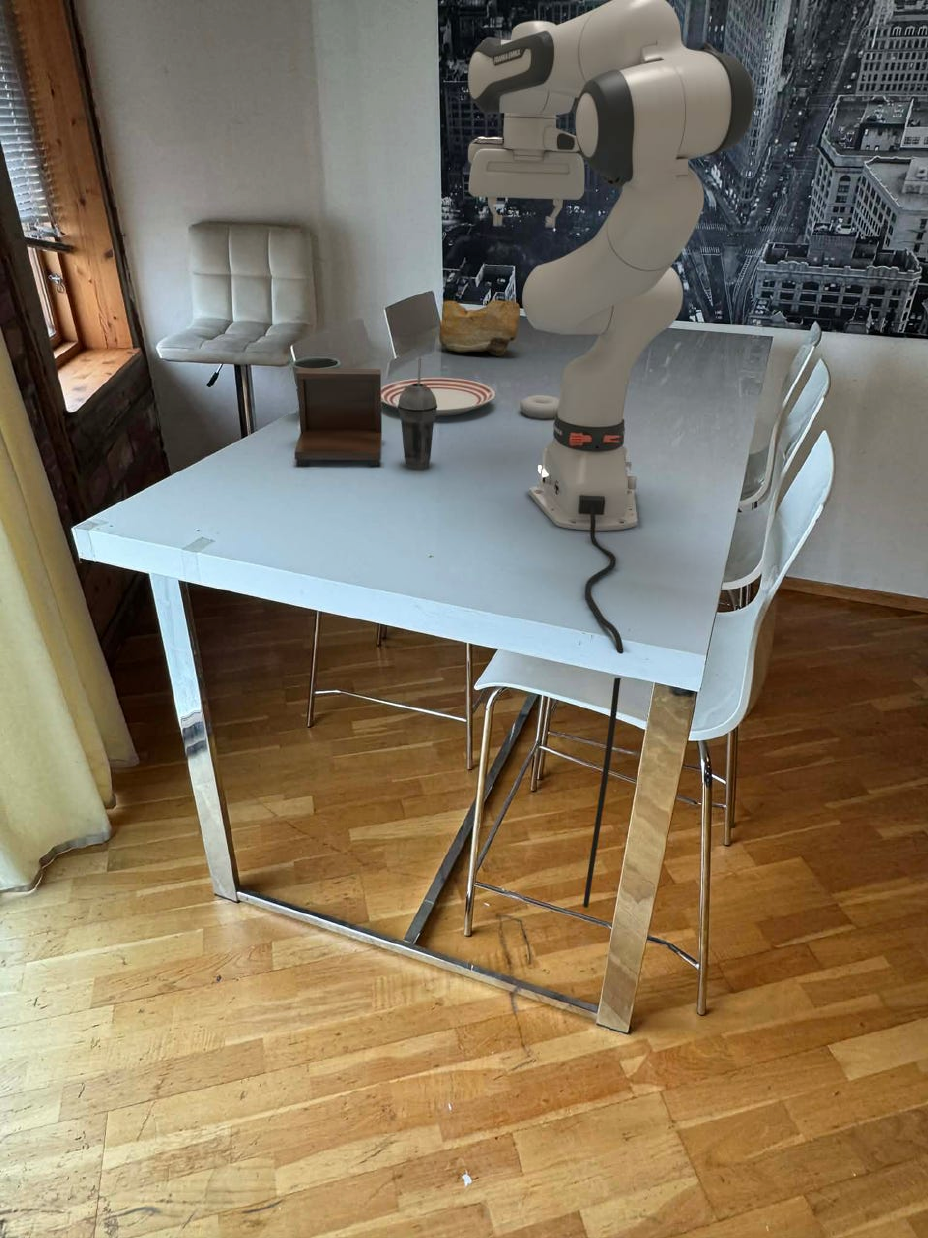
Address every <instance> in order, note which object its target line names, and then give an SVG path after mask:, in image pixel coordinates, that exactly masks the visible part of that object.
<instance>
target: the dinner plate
mask: <svg viewBox="0 0 928 1238" xmlns="http://www.w3.org/2000/svg"><path fill="white" fill-rule="evenodd" d="M414 383H418V378H412V379H404V380H399V381H394V382H391V383H388V384H385V385H384V386H381V403H383V404H385V405H387V406H390V407H392V408H394V409H396V410H399V408H398V404H399V398H400V395H401V393H402V392H403V390H404V389H405V388H406V387H407V386H409V385H411V384H414ZM420 384H424V385H426V386H427V387H429V388H430V389H431V390H432V392H433V394H434V395H435V398H436V404H437V408H436V415H435V417H449V416H457V415H461V414H464V413H468V412H469V411H474V410H476V409H478V408H481V407H483V406H485V405H487V404H489V403H490V402H491V401H493V399H494V398H495V396H496V392H495V391H494V389H493V388H492V387H490V386H489V385H486V384H484V383H481V382H477V381H473V380H469V379H468V380H467V379H460V378H452V377H451V378H449V377H424V378H423V377H422V378H421V377H420Z"/></svg>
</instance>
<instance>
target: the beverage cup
mask: <svg viewBox="0 0 928 1238" xmlns="http://www.w3.org/2000/svg"><path fill="white" fill-rule="evenodd" d="M417 364H418V365H417V379H418V383H414V384H411V385H409V386H407V387H406V388H405V389H404V390H403V392H402V393H401V395H400V398H399V404H398V408H399V409H398V412H399V416H400V417H399V418H400V422H401V423H400V424H401V432H402V433H401V434H402V443H403V444H402V445H403V453H404V462H405V467H406V468H407V469H410V470H415V471H416V470H417V471H421V470H422V471H423V470H426V469H428V468H430V463H431V457H432V449H433V447H432V446H433V436H434V435H433V434H434V426H435V418H436V416H435V415H436V408H437V404H436V398H435V395H434V394H433V392H432V390H431V389H430V388H429V387H427V386H426V385H424V384H420V379H421V372H422V358H421V357H418V362H417Z"/></svg>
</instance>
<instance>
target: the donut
mask: <svg viewBox="0 0 928 1238" xmlns="http://www.w3.org/2000/svg"><path fill="white" fill-rule="evenodd" d="M519 403H520V404H519V407H520V411H521V412H522V414H523V415H525V416H527V417H530V418H533V419H543V420H546V419H555V415H556V414H557V413H558V404H559V398H557V397H555V396H551V395H545V394H535V395H529V396H526V397H524V398H523V399H522V400H521V401H520V402H519Z"/></svg>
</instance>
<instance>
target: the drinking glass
mask: <svg viewBox="0 0 928 1238" xmlns="http://www.w3.org/2000/svg"><path fill="white" fill-rule="evenodd" d="M291 367H292V368H291V369H292V373H293V378H294V384H295V387H296V389H295V391H296V395H297V397H298V388H297V377H296V373H297V370H298V368H316V369H341V361H340V360H338V359H337V358H334V357H329V356H306V357H302V358H298V359H295V360H293V361H292V362H291Z"/></svg>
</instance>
